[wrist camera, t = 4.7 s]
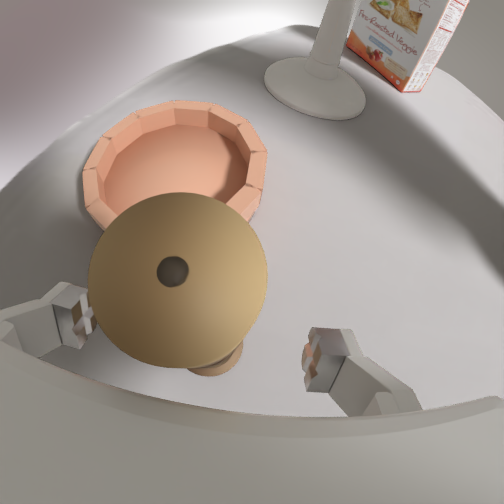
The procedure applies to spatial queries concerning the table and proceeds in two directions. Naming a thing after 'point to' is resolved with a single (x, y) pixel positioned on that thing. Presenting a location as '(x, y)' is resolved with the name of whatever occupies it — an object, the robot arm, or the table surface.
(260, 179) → the dish
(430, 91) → the table surface
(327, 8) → the candlestick
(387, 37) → the cracker box
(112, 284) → the tan wooden ridged cylinder
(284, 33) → the table surface
